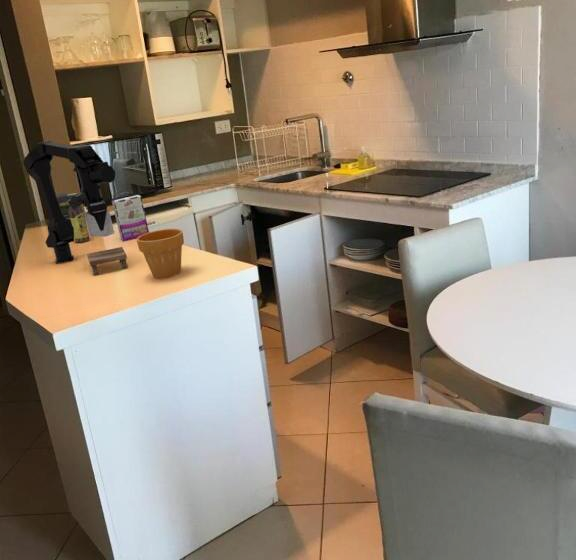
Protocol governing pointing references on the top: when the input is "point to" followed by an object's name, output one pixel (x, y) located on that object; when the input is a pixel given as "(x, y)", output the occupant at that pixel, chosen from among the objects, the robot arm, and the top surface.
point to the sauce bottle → (78, 223)
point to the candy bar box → (130, 217)
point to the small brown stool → (107, 258)
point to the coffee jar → (63, 204)
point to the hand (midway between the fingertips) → (100, 228)
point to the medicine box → (95, 229)
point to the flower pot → (162, 251)
